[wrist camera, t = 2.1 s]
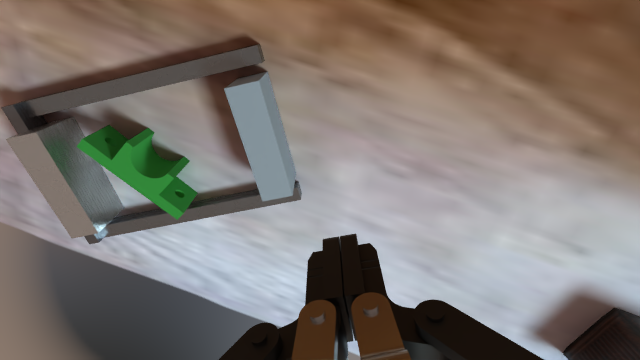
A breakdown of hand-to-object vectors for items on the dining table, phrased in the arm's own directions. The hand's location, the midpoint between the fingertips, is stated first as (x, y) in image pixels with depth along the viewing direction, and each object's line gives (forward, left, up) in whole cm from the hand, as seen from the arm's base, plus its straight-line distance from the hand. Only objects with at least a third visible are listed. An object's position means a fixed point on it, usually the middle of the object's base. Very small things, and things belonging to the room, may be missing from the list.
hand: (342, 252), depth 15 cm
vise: (0, -18, -21) cm, 28 cm away
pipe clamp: (0, -19, -22) cm, 29 cm away
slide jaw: (0, -6, -21) cm, 22 cm away
